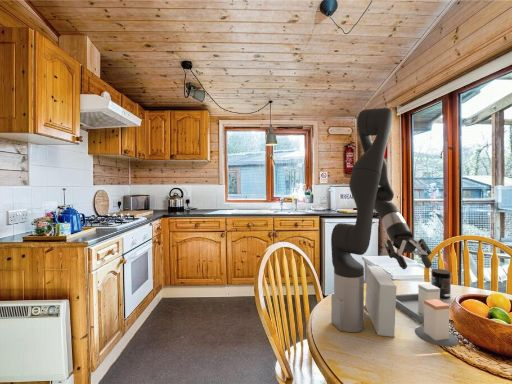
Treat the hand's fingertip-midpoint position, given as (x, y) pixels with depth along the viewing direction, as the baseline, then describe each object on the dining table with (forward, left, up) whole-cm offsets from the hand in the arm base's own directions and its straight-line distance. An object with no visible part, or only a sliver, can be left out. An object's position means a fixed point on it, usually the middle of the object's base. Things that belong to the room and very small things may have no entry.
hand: (417, 267), depth 92 cm
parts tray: (+8, +8, -19) cm, 22 cm away
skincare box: (-11, +5, -19) cm, 22 cm away
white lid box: (+8, +3, -18) cm, 20 cm away
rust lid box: (-1, -8, -18) cm, 20 cm away
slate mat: (-1, -8, -19) cm, 20 cm away
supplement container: (+26, +17, -19) cm, 36 cm away
